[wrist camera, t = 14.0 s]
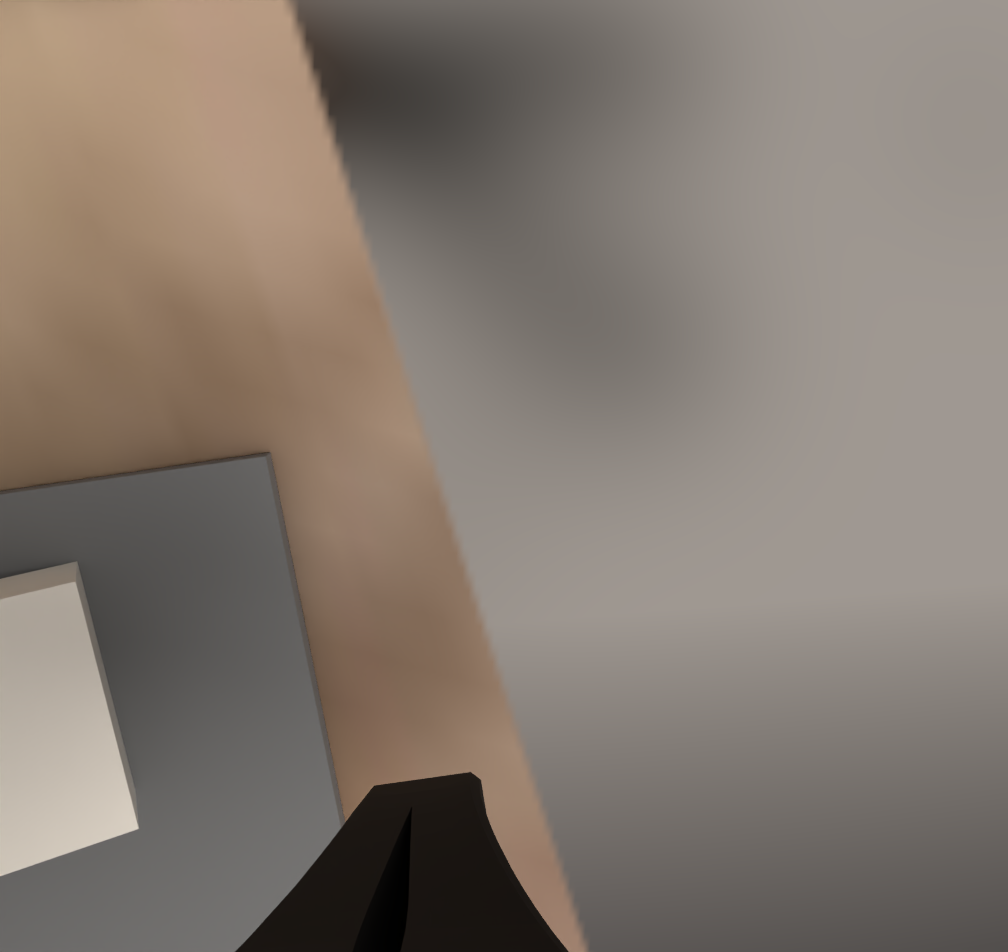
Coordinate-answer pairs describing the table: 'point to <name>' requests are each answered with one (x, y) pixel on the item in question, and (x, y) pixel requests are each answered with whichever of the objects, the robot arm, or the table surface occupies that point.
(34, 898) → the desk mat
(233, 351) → the table surface
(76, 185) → the table surface
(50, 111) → the table surface
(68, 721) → the tile
